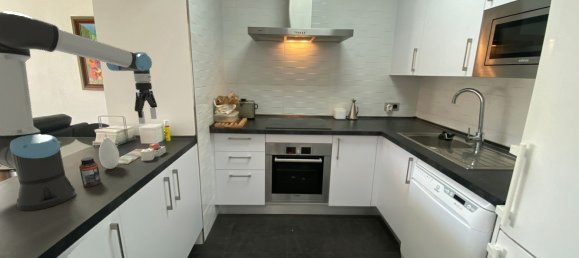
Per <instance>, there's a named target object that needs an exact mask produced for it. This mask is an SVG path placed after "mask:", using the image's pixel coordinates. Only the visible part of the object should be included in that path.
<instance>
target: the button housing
mask: <svg viewBox="0 0 579 258" xmlns="http://www.w3.org/2000/svg"><path fill="white" fill-rule="evenodd" d="M159 147H160V149H158V150H154V155H155V157H161V156H162V155H164V154H165V153H166V152H167V150H166V146H165V145H164V146H162V145H161V146H160V145H159ZM147 149H150V147H148V148H147ZM155 157H154V158H155Z"/></svg>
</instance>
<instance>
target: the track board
mask: <svg viewBox="0 0 579 258" xmlns="http://www.w3.org/2000/svg"><path fill="white" fill-rule="evenodd" d="M143 149H144V148H135V149H134V150H132V151H130V152H128V153H126V154H124V155H122V156H119V162H118V164H117V165H119V166H120V165H128V164H130V163H132V162H133V161H135V160H137V159H139V158H141V153H140V152H141V151H142V150H143ZM117 165H116V166H117Z"/></svg>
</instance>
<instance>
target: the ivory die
mask: <svg viewBox="0 0 579 258" xmlns="http://www.w3.org/2000/svg"><path fill="white" fill-rule="evenodd" d="M142 149H143V150H142V151H141V152H140V153H141V157H140V159H141V162H145V161H146V162H148V161H153V160H154V159H155V155H154V149H148V148H142Z"/></svg>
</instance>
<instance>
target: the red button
mask: <svg viewBox="0 0 579 258" xmlns="http://www.w3.org/2000/svg"><path fill="white" fill-rule="evenodd" d="M159 146H160V143H159V142H156V143H155V142H154V143H150V144H149V148H150V149H154V150H158V149H160V147H159Z"/></svg>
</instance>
